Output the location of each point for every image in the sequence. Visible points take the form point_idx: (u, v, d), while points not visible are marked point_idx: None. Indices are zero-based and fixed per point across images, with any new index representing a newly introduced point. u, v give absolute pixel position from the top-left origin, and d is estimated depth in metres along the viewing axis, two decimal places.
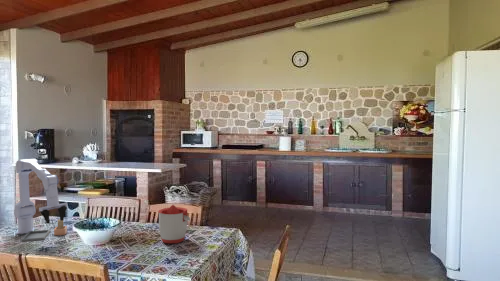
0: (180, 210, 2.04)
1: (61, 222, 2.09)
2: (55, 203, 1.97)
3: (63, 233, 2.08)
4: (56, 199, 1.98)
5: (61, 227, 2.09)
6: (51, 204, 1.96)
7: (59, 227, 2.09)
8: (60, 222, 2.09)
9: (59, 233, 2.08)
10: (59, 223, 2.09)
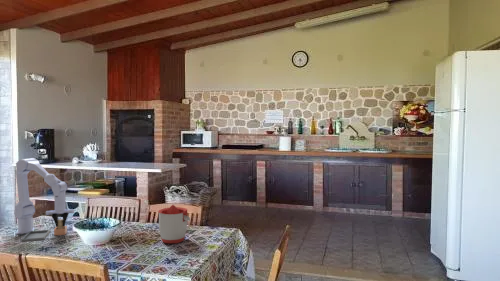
0: (180, 210, 2.04)
1: (61, 222, 2.09)
2: (58, 210, 2.07)
3: (63, 233, 2.08)
4: (60, 206, 2.07)
5: (61, 227, 2.09)
6: (55, 210, 2.07)
7: (59, 227, 2.09)
8: (60, 222, 2.09)
9: (59, 233, 2.08)
10: (59, 223, 2.09)
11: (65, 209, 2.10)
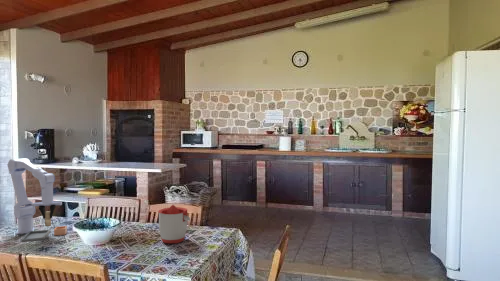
0: (180, 210, 2.04)
1: (48, 214, 2.06)
2: (46, 201, 2.04)
3: (63, 233, 2.08)
4: (47, 198, 2.04)
5: (48, 219, 2.06)
6: (42, 202, 2.04)
7: (46, 219, 2.06)
8: (47, 214, 2.06)
9: (59, 233, 2.08)
10: (46, 215, 2.06)
11: (52, 201, 2.07)
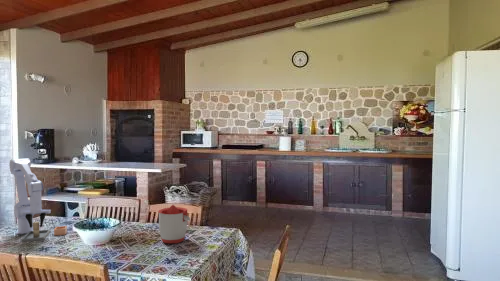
0: (180, 210, 2.04)
1: (36, 225, 2.04)
2: (34, 210, 2.01)
3: (63, 233, 2.08)
4: (35, 206, 2.02)
5: (37, 230, 2.04)
6: (31, 210, 2.02)
7: (34, 230, 2.03)
8: (35, 225, 2.03)
9: (59, 233, 2.08)
10: (34, 226, 2.03)
11: (41, 209, 2.05)
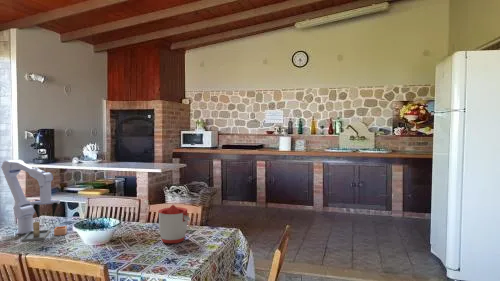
0: (180, 210, 2.04)
1: (37, 225, 2.04)
2: (44, 200, 2.07)
3: (63, 233, 2.08)
4: (45, 196, 2.08)
5: (37, 230, 2.04)
6: (41, 200, 2.07)
7: (35, 230, 2.03)
8: (36, 225, 2.03)
9: (59, 233, 2.08)
10: (35, 226, 2.03)
11: None
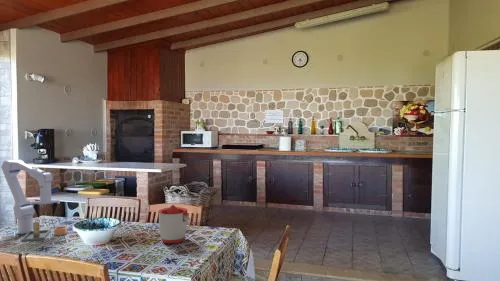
0: (180, 210, 2.04)
1: (37, 225, 2.04)
2: (44, 200, 2.07)
3: (63, 233, 2.08)
4: (45, 196, 2.08)
5: (37, 230, 2.04)
6: (41, 200, 2.07)
7: (35, 230, 2.03)
8: (36, 225, 2.03)
9: (59, 233, 2.08)
10: (35, 226, 2.03)
11: None
